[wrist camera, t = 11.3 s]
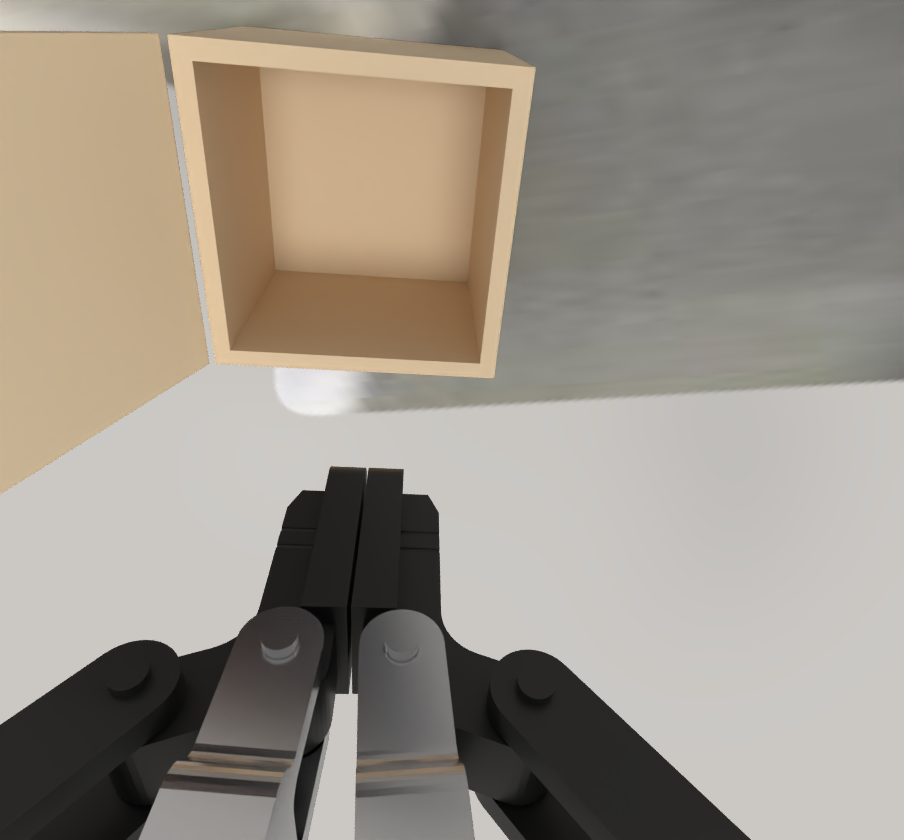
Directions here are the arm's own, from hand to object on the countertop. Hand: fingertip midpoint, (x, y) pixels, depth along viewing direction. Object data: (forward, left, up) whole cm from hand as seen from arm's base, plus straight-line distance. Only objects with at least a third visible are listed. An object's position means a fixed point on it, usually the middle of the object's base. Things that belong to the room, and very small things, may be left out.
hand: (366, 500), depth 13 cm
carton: (+2, 0, -30) cm, 30 cm away
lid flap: (+12, 0, -11) cm, 16 cm away
